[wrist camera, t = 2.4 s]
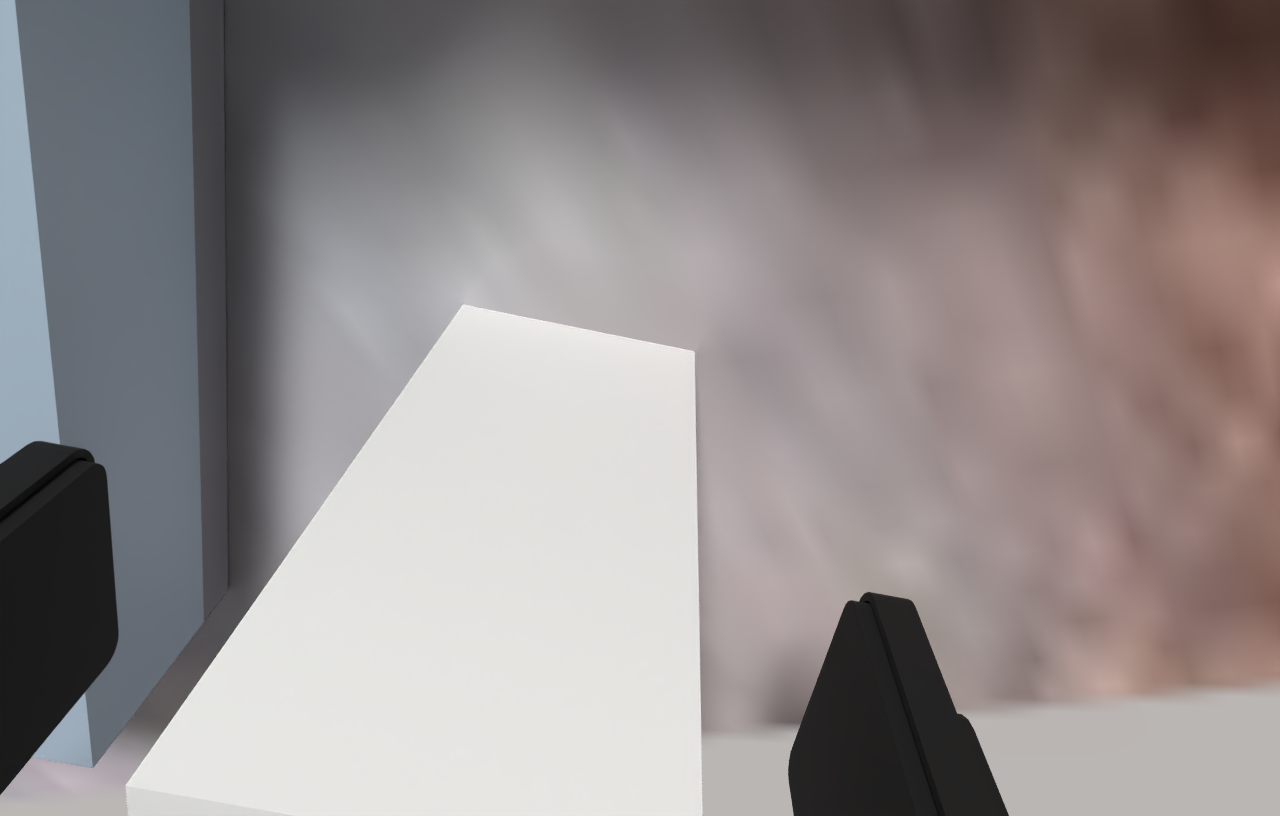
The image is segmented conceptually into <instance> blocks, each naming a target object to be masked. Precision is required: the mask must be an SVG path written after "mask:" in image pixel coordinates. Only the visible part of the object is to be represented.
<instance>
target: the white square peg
mask: <svg viewBox="0 0 1280 816" xmlns="http://www.w3.org/2000/svg"><path fill="white" fill-rule="evenodd" d="M701 754H702V748H701V691H700V633H699V575H698V517H697V460H696V402H695V351H691V350H686V349H681V348H676V347H671V346H666V345H661V344H656V343H651V342H646V341H642V340H637V339H632V338H627V337H622V336H617V335H612V334H607V333H602V332H597V331H592V330H587V329H582V328H577V327H572V326H567V325H562V324H557V323H553V322H548V321H543V320H538V319H533V318H528V317H523V316H518V315H513V314H508V313H503V312H498V311H493V310H488V309H483V308H478V307H473V306H468V305H462V307H461V308H460V309H459V311H458V312H457V314H456V315H455V317H454V318H453V319H452V321H451V322H450V324H449V325H448V327H447V328H446V329H445V331H444V332H443V334H442V335H441V337H440V338H439V339H438V341H437V342H436V344H435V345H434V346H433V348H432V349H431V351H430V352H429V354H428V355H427V356H426V358H425V359H424V361H423V362H422V364H421V365H420V366H419V368H418V369H417V371H416V372H415V374H414V375H413V376H412V378H411V379H410V381H409V382H408V384H407V385H406V386H405V388H404V389H403V391H402V392H401V394H400V395H399V396H398V398H397V399H396V401H395V402H394V404H393V405H392V406H391V408H390V409H389V411H388V412H387V414H386V415H385V416H384V418H383V419H382V421H381V422H380V423H379V425H378V426H377V428H376V429H375V431H374V432H373V433H372V435H371V436H370V438H369V439H368V441H367V442H366V443H365V445H364V446H363V448H362V449H361V451H360V452H359V453H358V455H357V456H356V458H355V459H354V461H353V462H352V463H351V465H350V466H349V468H348V469H347V471H346V472H345V473H344V475H343V476H342V478H341V479H340V481H339V482H338V483H337V485H336V486H335V488H334V489H333V491H332V492H331V493H330V495H329V496H328V498H327V499H326V500H325V502H324V503H323V505H322V506H321V508H320V509H319V510H318V512H317V513H316V515H315V516H314V518H313V519H312V520H311V522H310V523H309V525H308V526H307V528H306V529H305V530H304V532H303V533H302V535H301V536H300V538H299V539H298V540H297V542H296V543H295V545H294V546H293V548H292V549H291V550H290V552H289V553H288V555H287V556H286V558H285V559H284V560H283V562H282V563H281V565H280V566H279V568H278V569H277V570H276V572H275V573H274V575H273V576H272V577H271V579H270V580H269V582H268V583H267V585H266V586H265V587H264V589H263V590H262V592H261V593H260V595H259V596H258V597H257V599H256V600H255V602H254V603H253V605H252V606H251V607H250V609H249V610H248V612H247V613H246V615H245V616H244V617H243V619H242V620H241V622H240V623H239V625H238V626H237V627H236V629H235V630H234V632H233V633H232V635H231V636H230V637H229V639H228V640H227V642H226V643H225V645H224V646H223V647H222V649H221V650H220V652H219V653H218V654H217V656H216V657H215V659H214V660H213V662H212V663H211V664H210V666H209V667H208V669H207V670H206V672H205V673H204V674H203V676H202V677H201V679H200V680H199V682H198V683H197V684H196V686H195V687H194V689H193V690H192V692H191V693H190V694H189V696H188V697H187V699H186V700H185V702H184V703H183V704H182V706H181V707H180V709H179V710H178V712H177V713H176V714H175V716H174V717H173V719H172V720H171V722H170V723H169V724H168V726H167V727H166V729H165V730H164V731H163V733H162V734H161V736H160V737H159V739H158V740H157V741H156V743H155V744H154V746H153V747H152V749H151V750H150V751H149V753H148V754H147V756H146V757H145V759H144V760H143V761H142V763H141V764H140V766H139V767H138V769H137V770H136V771H135V773H134V774H133V776H132V777H131V779H130V780H129V781H128V783H127V784H126V798H127V809H128V816H703V808H702V807H703V806H702V755H701Z"/></svg>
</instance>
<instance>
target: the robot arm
mask: <svg viewBox="0 0 1280 816" xmlns="http://www.w3.org/2000/svg"><path fill="white" fill-rule="evenodd" d="M118 638H119V629H118V616H117V603H116V589H115V576H114V563H113V549H112V536H111V523H110V509H109V496H108V483H107V474H106V470H105V468H104V466H103V465H101V464H98V463H95V460H94V457H93V455H92V454H91V452H90V451H88V450H86V449H82V448H77V447H72V446H66V445H61V444H55V443H50V442H44V441H34V442H32V443H30V444H28V445H26V446H25V447H23V448H22V449H20V450H19V451H18V452H16V453H15V454H13V455H12V456H11V457H9V458H8V459H6V460H5V461H4V462H2V463H1V464H0V795H1V793H2V792H3V791H4V790H5V789H6V787H7V786H8V785H9V784H10V783H11V781H12V780H13V779H14V778H15V777H16V775H17V774H18V773H19V772H20V770H21V769H22V768H23V767H24V766H25V764H26V763H27V762H28V761H29V760H30V758H31V757H32V756H33V755H34V754H35V752H36V751H37V750H38V749H39V747H40V746H41V745H42V744H43V743H44V741H45V740H46V739H47V738H48V737H49V735H50V734H51V733H52V732H53V730H54V729H55V728H56V727H57V726H58V724H59V723H60V722H61V721H62V720H63V718H64V717H65V716H66V715H67V714H68V712H69V711H70V710H71V709H72V707H73V706H74V705H75V704H76V703H77V701H78V700H79V699H80V698H81V697H82V695H83V694H84V693H85V692H86V691H87V689H88V688H89V687H90V686H91V684H92V683H93V682H94V681H95V680H96V678H97V677H98V676H99V675H100V674H101V672H102V671H103V670H104V669H105V668H106V666H107V665H108V663H109V662H110V661H111V659H112V657H113V655H114V653H115V650H116V647H117V643H118ZM788 771H789V773H788V776H789V786H790V792H791V799H792V806H793V812H794V816H1009V815H1008V812H1007V810H1006V808H1005V805H1004V803H1003V800H1002V798H1001V795H1000V793H999V790H998V788H997V785H996V783H995V780H994V778H993V776H992V773H991V771H990V768H989V765H988V763H987V761H986V758H985V756H984V753H983V751H982V748H981V746H980V743H979V741H978V738H977V736H976V733H975V731H974V729H973V727H972V725H971V724H970V722H969V720H968V719H967V718H966V717H964V716H963V715H962V714H957V712H956V710H955V707H954V705H953V702H952V699H951V697H950V694H949V692H948V689H947V687H946V684H945V681H944V679H943V676H942V674H941V671H940V669H939V666H938V664H937V661H936V658H935V656H934V653H933V651H932V648H931V646H930V643H929V640H928V638H927V635H926V633H925V630H924V628H923V625H922V622H921V620H920V617H919V615H918V612H917V610H916V607H915V605H914V604H913V602H912V601H911V600H909V599H904V598H898V597H893V596H887V595H882V594H876V593H871V592H867V593H865V594H864V595H863V596H862V597H861V599H860V601H859V602H857V601H852V600H851V601H848V602H847V604H846V605H845V607H844V609H843V612H842V615H841V617H840V620H839V623H838V626H837V628H836V631H835V634H834V636H833V639H832V642H831V644H830V647H829V650H828V653H827V655H826V658H825V661H824V663H823V666H822V669H821V671H820V674H819V677H818V679H817V682H816V685H815V688H814V690H813V693H812V696H811V698H810V701H809V704H808V706H807V709H806V712H805V715H804V717H803V720H802V723H801V725H800V728H799V731H798V733H797V736H796V739H795V741H794V744H793V747H792V750H791V754H790V759H789V768H788Z"/></svg>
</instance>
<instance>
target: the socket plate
mask: <svg viewBox="0 0 1280 816" xmlns="http://www.w3.org/2000/svg"><path fill="white" fill-rule="evenodd" d="M34 441H44V442H50V443H55V444H61V445H66V446H72V447H77V448H82V449H86V450H88V451H90V452H91V454H92V455H93V457H94V460H95V463H98V464H101V465H103V466H104V468H105V470H106V474H107V483H108V496H109V509H110V523H111V536H112V549H113V563H114V576H115V589H116V603H117V616H118V629H119V638H118V643H117V647H116V650H115V653H114V655H113V657H112V659H111V661H110V662H109V663H108V665H107V666H106V668H105V669H104V670H103V671H102V672H101V674H100V675H99V676H98V677H97V678H96V680H95V681H94V682H93V683H92V684H91V686H90V687H89V688H88V689H87V691H86V692H85V693H84V694H83V695H82V697H81V698H80V699H79V700H78V701H77V703H76V704H75V705H74V706H73V707H72V709H71V710H70V711H69V712H68V714H67V715H66V716H65V717H64V718H63V720H62V721H61V722H60V723H59V724H58V726H57V727H56V728H55V729H54V730H53V732H52V733H51V734H50V735H49V737H48V738H47V739H46V740H45V741H44V743H43V744H42V745H41V746H40V747H39V749H38V750H37V751H36V752H35V754H34V755H33V756H32V757H33V758H38V759H44V760H49V761H55V762H61V763H66V764H72V765H77V766H83V767H89V768H94V766H95V765H96V764H97V762H98V761H99V760H100V758H101V757H102V756H103V754H104V753H105V752H106V750H107V749H108V748H109V747H110V745H111V744H112V743H113V741H114V740H115V739H116V737H117V736H118V735H119V733H120V732H121V731H122V729H123V728H124V727H125V725H126V724H127V723H128V721H129V720H130V719H131V718H132V716H133V715H134V714H135V712H136V711H137V710H138V708H139V707H140V706H141V704H142V703H143V702H144V700H145V699H146V698H147V696H148V695H149V694H150V693H151V691H152V690H153V689H154V687H155V686H156V685H157V683H158V682H159V681H160V679H161V678H162V677H163V675H164V674H165V673H166V671H167V670H168V669H169V667H170V666H171V665H172V664H173V662H174V661H175V660H176V658H177V657H178V656H179V654H180V653H181V652H182V650H183V649H184V648H185V646H186V645H187V644H188V642H189V641H190V640H191V638H192V637H193V636H194V635H195V633H196V632H197V631H198V629H199V628H200V627H201V625H202V624H203V623H204V621H205V620H206V619H207V617H208V616H209V615H210V613H211V612H212V611H213V610H214V608H215V607H216V606H217V604H218V603H219V602H220V600H221V599H222V598H223V596H224V595H225V594H226V592H227V591H228V488H227V363H226V237H225V112H224V0H0V464H1V463H2V462H4V461H5V460H6V459H8V458H9V457H11V456H12V455H13V454H15V453H16V452H18V451H19V450H20V449H22V448H23V447H25V446H26V445H28V444H30V443H32V442H34Z"/></svg>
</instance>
